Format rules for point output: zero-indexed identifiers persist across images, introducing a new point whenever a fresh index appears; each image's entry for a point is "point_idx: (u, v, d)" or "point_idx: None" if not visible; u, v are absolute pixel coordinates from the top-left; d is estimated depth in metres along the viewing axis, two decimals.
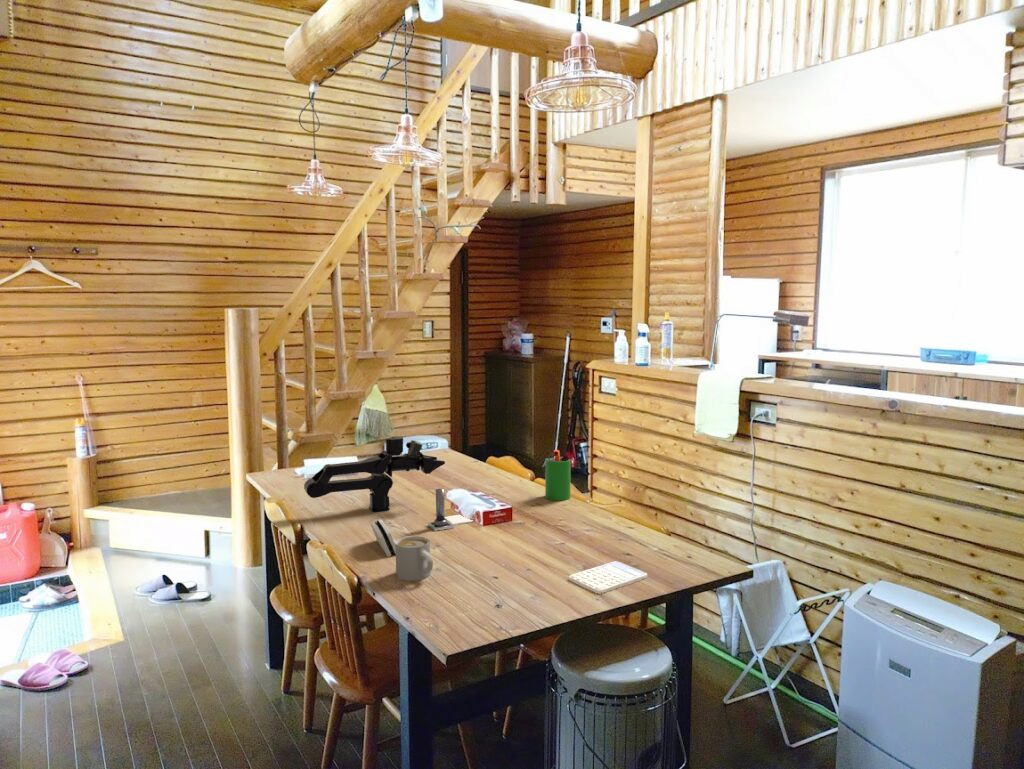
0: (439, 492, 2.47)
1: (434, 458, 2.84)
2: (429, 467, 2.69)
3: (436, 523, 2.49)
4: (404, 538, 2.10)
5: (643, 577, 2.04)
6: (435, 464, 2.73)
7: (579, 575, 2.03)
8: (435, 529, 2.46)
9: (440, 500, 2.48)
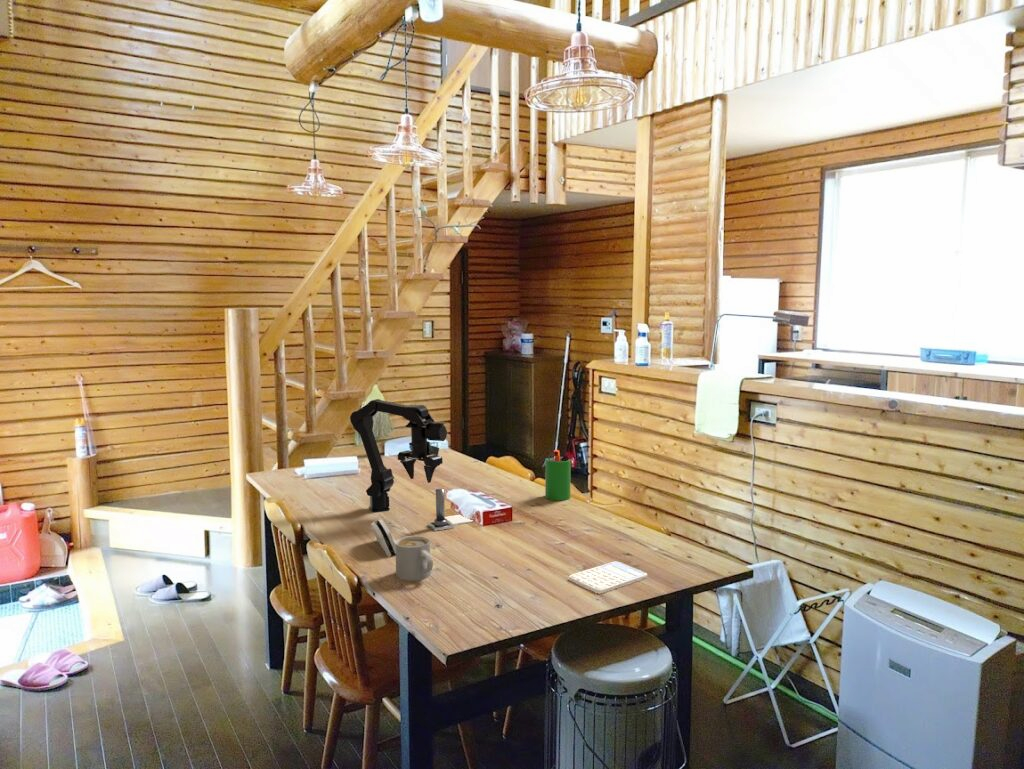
0: (439, 492, 2.47)
1: (412, 476, 2.66)
2: (436, 463, 2.56)
3: (436, 523, 2.49)
4: (404, 538, 2.10)
5: (643, 577, 2.04)
6: (430, 471, 2.59)
7: (579, 575, 2.03)
8: (435, 529, 2.46)
9: (440, 500, 2.48)
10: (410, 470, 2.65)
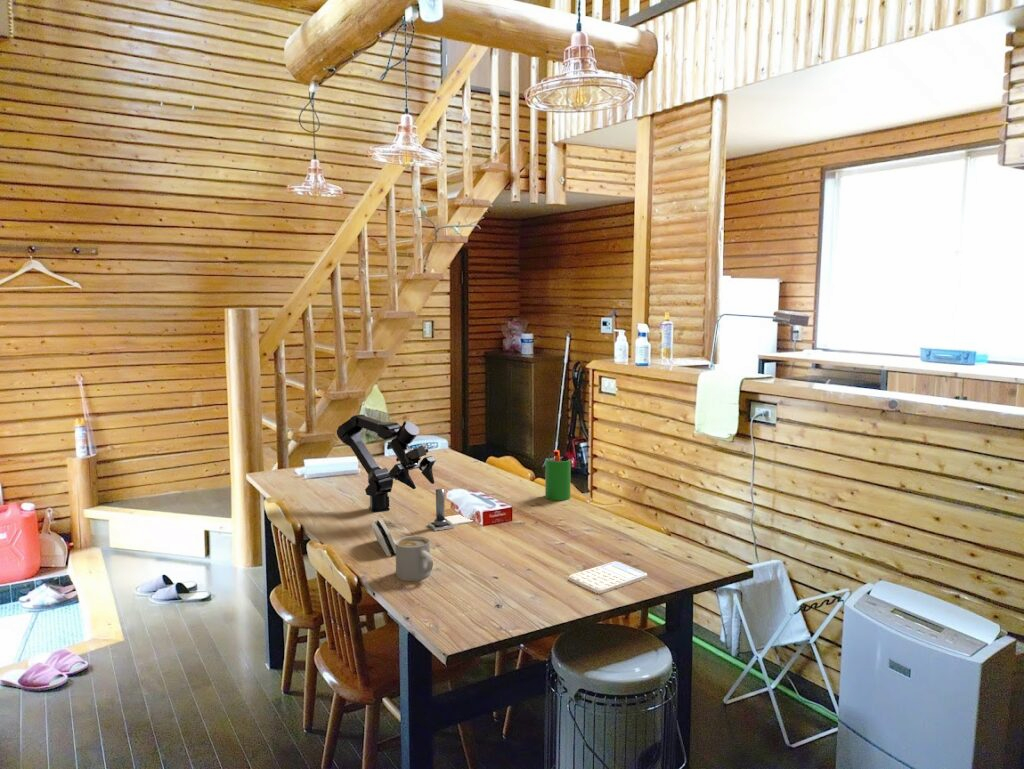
0: (439, 492, 2.47)
1: (431, 481, 2.58)
2: (393, 474, 2.50)
3: (436, 523, 2.49)
4: (404, 538, 2.10)
5: (643, 577, 2.04)
6: (406, 480, 2.51)
7: (579, 575, 2.03)
8: (435, 529, 2.46)
9: (440, 500, 2.48)
10: (428, 476, 2.59)
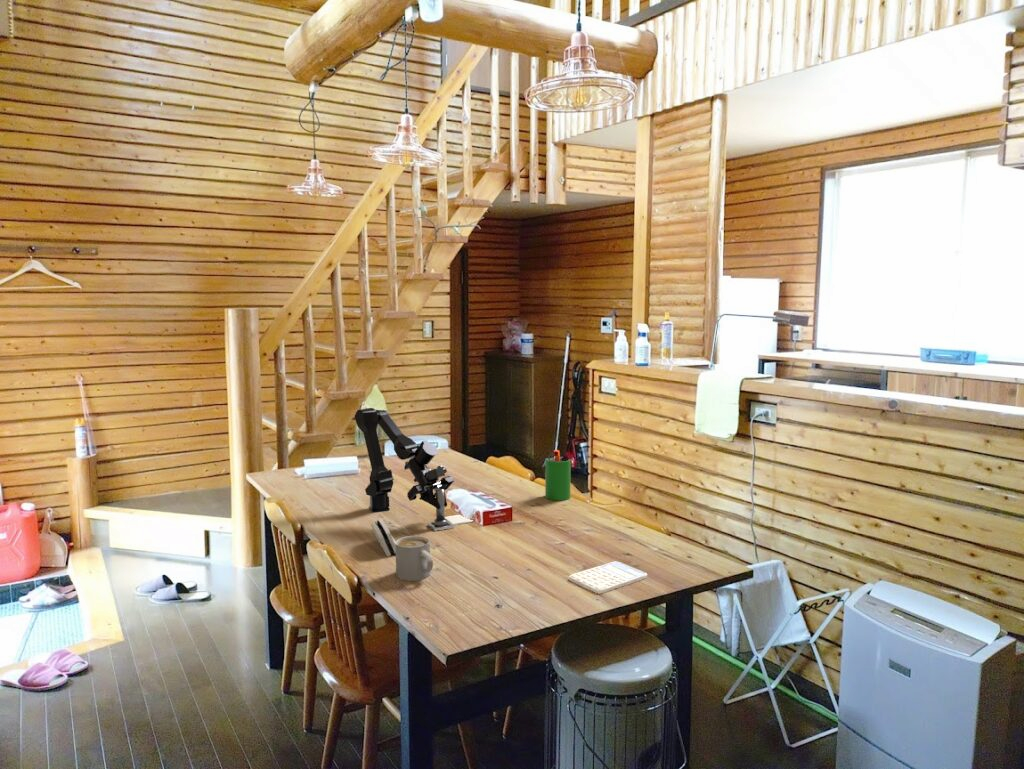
0: (439, 492, 2.47)
1: None
2: (411, 495, 2.45)
3: (436, 523, 2.49)
4: (404, 538, 2.10)
5: (643, 577, 2.03)
6: (430, 499, 2.48)
7: (579, 575, 2.03)
8: (435, 529, 2.46)
9: (440, 500, 2.48)
10: None
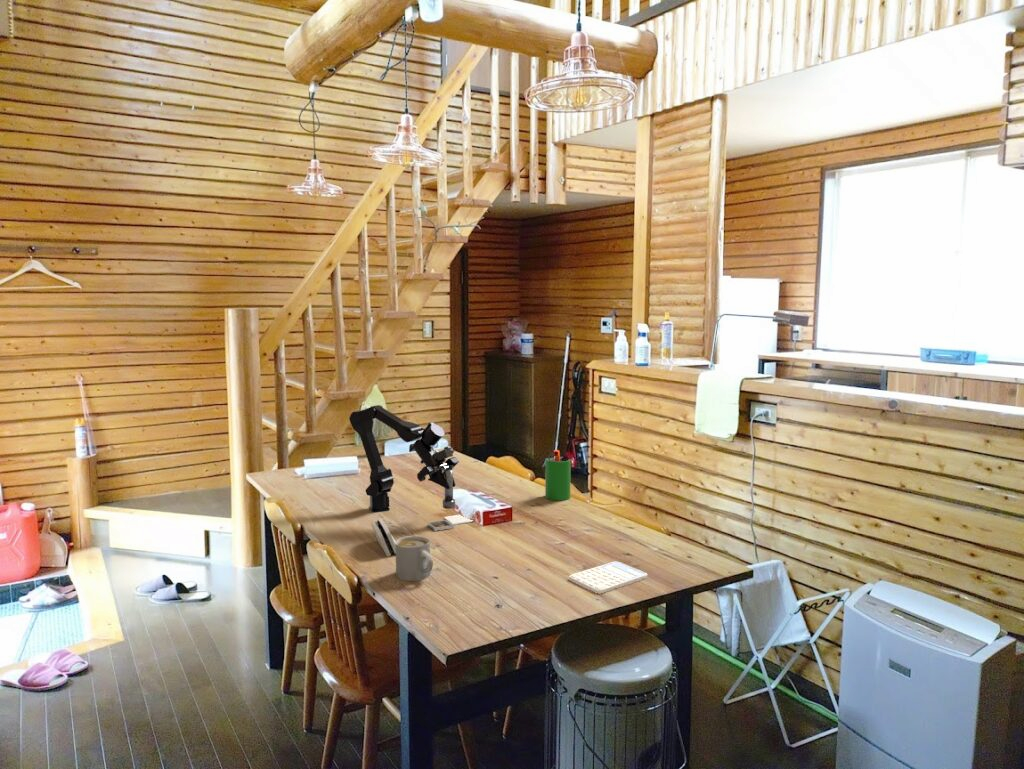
0: (448, 472, 2.51)
1: None
2: (422, 476, 2.47)
3: (445, 503, 2.52)
4: (404, 538, 2.10)
5: (643, 577, 2.03)
6: (439, 480, 2.51)
7: (579, 575, 2.03)
8: (435, 529, 2.46)
9: (449, 480, 2.51)
10: None
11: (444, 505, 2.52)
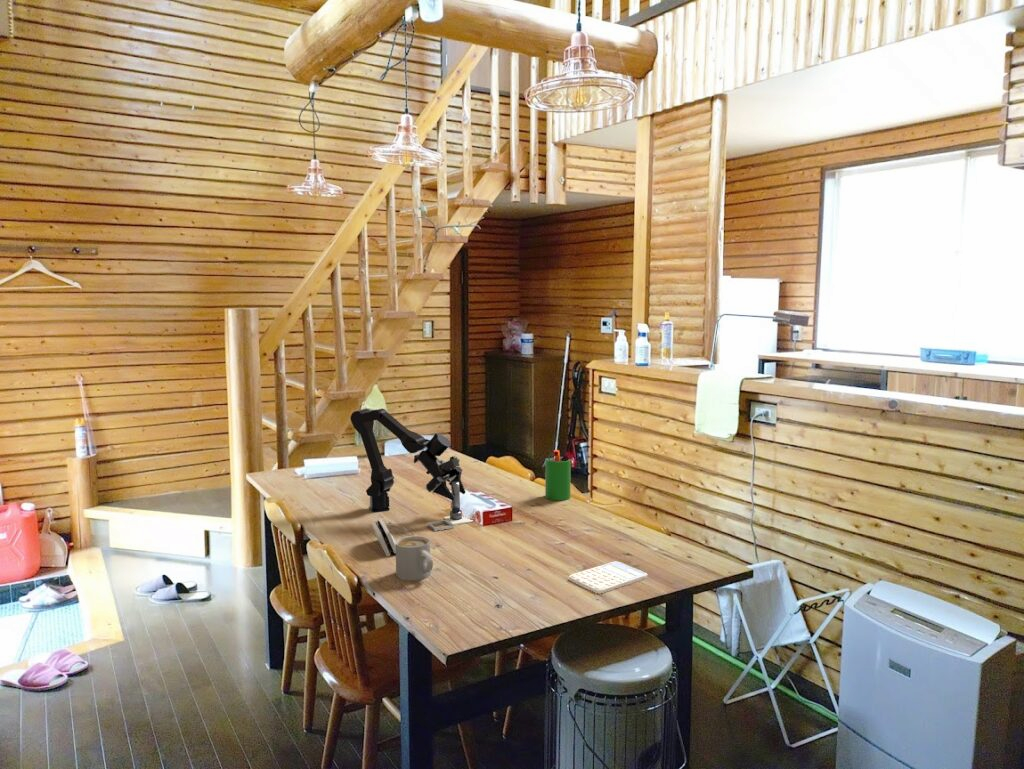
0: (455, 484, 2.55)
1: (462, 491, 2.61)
2: (431, 487, 2.50)
3: (453, 515, 2.56)
4: (404, 538, 2.10)
5: (643, 577, 2.03)
6: (444, 491, 2.53)
7: (579, 575, 2.03)
8: (435, 529, 2.46)
9: (456, 492, 2.56)
10: None
11: (452, 517, 2.57)
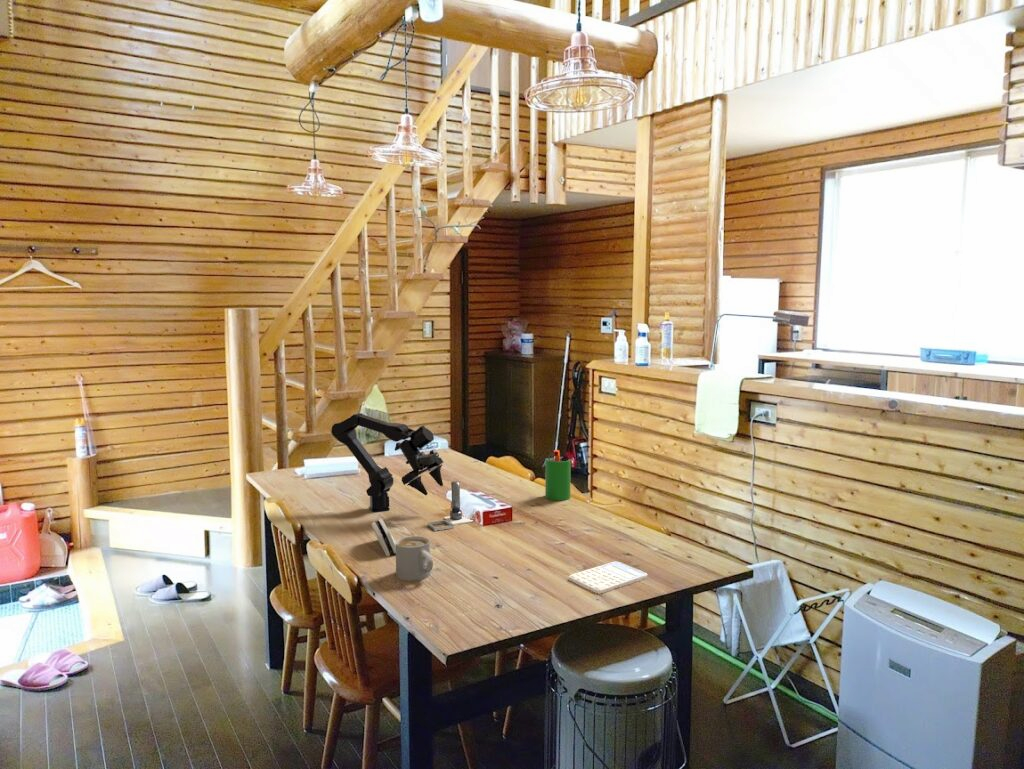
0: (456, 484, 2.55)
1: (440, 483, 2.65)
2: (406, 481, 2.55)
3: (453, 515, 2.56)
4: (404, 538, 2.10)
5: (643, 577, 2.03)
6: (418, 486, 2.58)
7: (579, 575, 2.03)
8: (435, 529, 2.46)
9: (456, 492, 2.56)
10: (436, 478, 2.66)
11: (452, 517, 2.57)
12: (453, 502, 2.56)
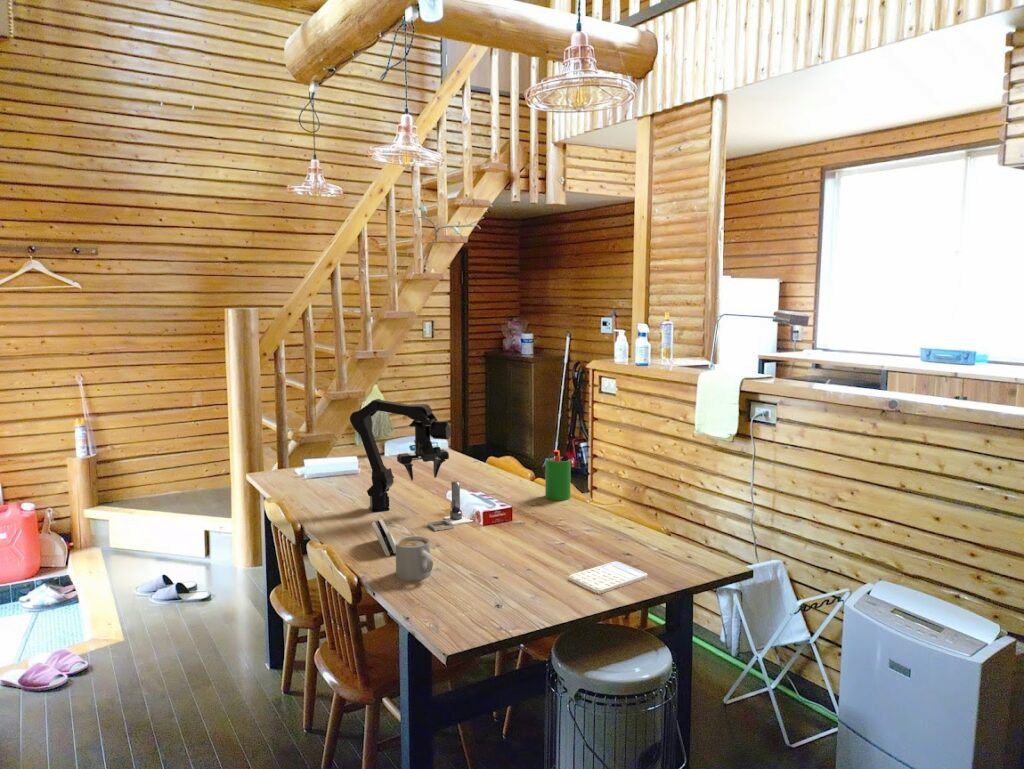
0: (456, 484, 2.55)
1: (434, 475, 2.67)
2: (398, 460, 2.61)
3: (453, 515, 2.56)
4: (404, 538, 2.10)
5: (643, 577, 2.03)
6: (408, 469, 2.63)
7: (579, 575, 2.03)
8: (435, 529, 2.46)
9: (456, 492, 2.56)
10: (434, 468, 2.68)
11: (452, 517, 2.57)
12: (453, 502, 2.56)
